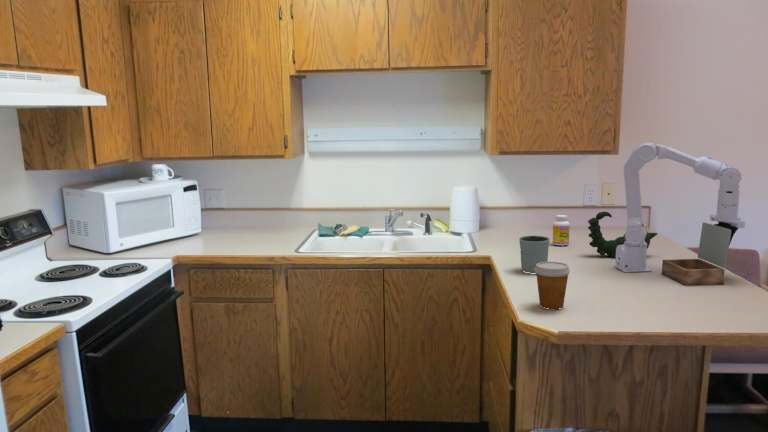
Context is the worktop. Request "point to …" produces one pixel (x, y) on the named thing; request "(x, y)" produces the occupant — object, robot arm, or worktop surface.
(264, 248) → the worktop surface
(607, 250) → the toy figurine
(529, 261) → the grey cup
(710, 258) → the lid
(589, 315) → the worktop surface
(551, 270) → the disposable coffee cup
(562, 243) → the supplement bottle
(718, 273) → the box
